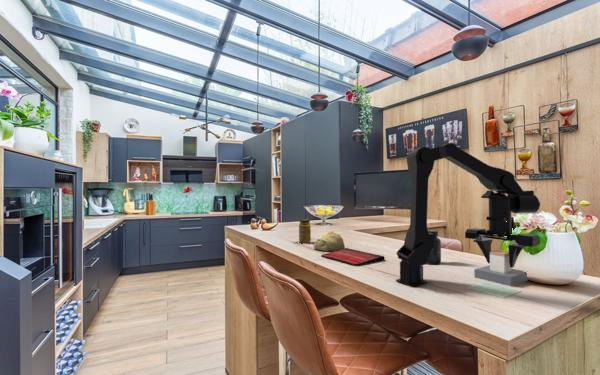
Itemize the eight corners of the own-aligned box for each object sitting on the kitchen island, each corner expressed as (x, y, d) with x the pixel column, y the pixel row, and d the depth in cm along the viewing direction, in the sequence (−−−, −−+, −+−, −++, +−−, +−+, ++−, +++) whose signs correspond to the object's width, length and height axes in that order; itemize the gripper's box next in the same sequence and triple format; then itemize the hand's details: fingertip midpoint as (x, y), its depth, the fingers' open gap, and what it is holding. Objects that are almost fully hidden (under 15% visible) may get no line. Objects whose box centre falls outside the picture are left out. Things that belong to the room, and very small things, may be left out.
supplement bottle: (443, 265, 110) (442, 232, 110) (423, 264, 111) (422, 231, 111) (438, 260, 117) (438, 229, 117) (419, 260, 118) (419, 229, 118)
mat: (503, 300, 76) (503, 297, 76) (467, 289, 84) (467, 287, 84) (520, 293, 81) (520, 290, 81) (485, 284, 88) (485, 282, 88)
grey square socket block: (510, 287, 85) (510, 277, 85) (474, 279, 93) (474, 269, 93) (527, 281, 90) (527, 271, 90) (491, 274, 99) (491, 264, 99)
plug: (504, 281, 89) (504, 254, 89) (490, 278, 92) (489, 251, 92) (511, 279, 91) (511, 252, 91) (496, 276, 94) (496, 250, 94)
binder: (346, 247, 136) (384, 255, 119) (347, 252, 136) (385, 261, 119) (318, 253, 126) (355, 263, 109) (319, 259, 126) (356, 270, 109)
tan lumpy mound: (346, 247, 145) (345, 230, 145) (343, 253, 133) (343, 234, 133) (316, 246, 149) (316, 230, 149) (311, 251, 137) (311, 233, 137)
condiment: (314, 242, 159) (313, 219, 159) (302, 244, 153) (302, 220, 153) (304, 240, 164) (304, 218, 164) (292, 243, 158) (292, 219, 159)
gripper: (549, 214, 88) (549, 268, 88) (482, 210, 104) (482, 256, 104) (531, 216, 82) (531, 274, 82) (463, 212, 98) (464, 260, 98)
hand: (500, 265), depth 92 cm, fingers open, 6 cm apart
